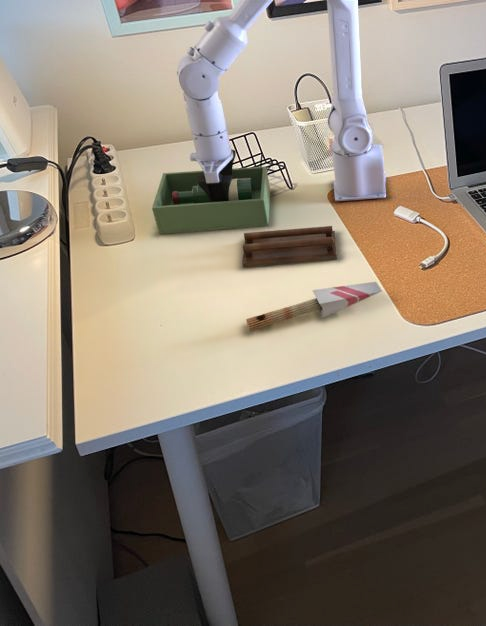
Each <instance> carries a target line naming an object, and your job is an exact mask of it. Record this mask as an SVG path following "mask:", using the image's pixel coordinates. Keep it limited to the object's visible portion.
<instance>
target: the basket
mask: <svg viewBox="0 0 486 626" xmlns="http://www.w3.org/2000/svg"><path fill="white" fill-rule="evenodd" d="M200 175H205V174H204V171H203V170H190V171H177V172H176V171H175V172H174V171H173V172H163V173H162V175H161V179H160V182H159V185H158V188H157V192H156V194H155V197H154V201H153V204H152V207H151V210H152V213H153V214H152V215H153V217H154V221H155V224H156V227H157V231H158V234H159V235H167V234H180V233H181V234H182V233H192V232H193V233H195V232H205V231H219V230H229V229H241V228H242V229H243V228H255V227H266V226H269V222H270V204H271V203H270V202H271V187H270V182H269V181H270V180H269V176H268V169H267V166H251V167H237V168H232V179H241V178H251V179H252V181H253V186H254V192H255V199H250V200H237V201H223V202H210V203H196V204H194V203H184V204H180V205H175V204H174V202H173V197H172V193H173V191H179V192H183V191H192V188H193V186H197V184H198V183H197V177H198V176H200Z"/></svg>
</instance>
